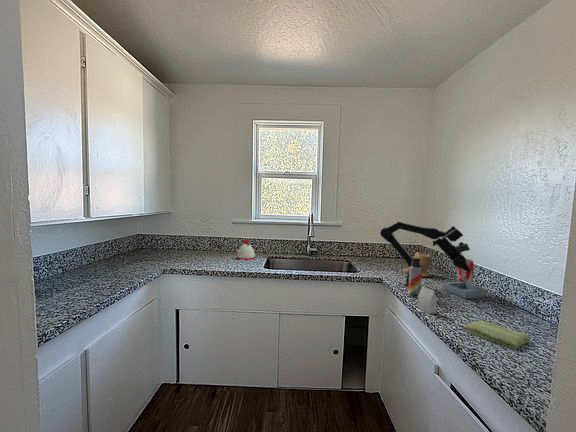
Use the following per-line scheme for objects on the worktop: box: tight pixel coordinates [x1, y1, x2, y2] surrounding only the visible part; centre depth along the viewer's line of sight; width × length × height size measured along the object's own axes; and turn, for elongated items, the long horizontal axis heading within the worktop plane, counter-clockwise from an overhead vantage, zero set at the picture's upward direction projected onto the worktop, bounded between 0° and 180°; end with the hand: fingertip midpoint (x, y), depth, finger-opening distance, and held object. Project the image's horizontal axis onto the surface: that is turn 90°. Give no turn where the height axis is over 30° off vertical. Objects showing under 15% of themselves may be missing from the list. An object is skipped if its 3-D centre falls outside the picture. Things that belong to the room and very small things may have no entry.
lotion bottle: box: [407, 257, 422, 299], centre depth 150 cm, size 6×6×20 cm
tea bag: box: [417, 286, 438, 315], centre depth 132 cm, size 4×7×10 cm, turn 24°
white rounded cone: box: [236, 238, 256, 261], centre depth 230 cm, size 14×14×15 cm
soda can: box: [457, 258, 475, 284], centre depth 156 cm, size 7×7×12 cm
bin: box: [443, 281, 488, 300], centre depth 157 cm, size 14×14×4 cm
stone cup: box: [403, 251, 432, 278], centre depth 193 cm, size 15×12×15 cm
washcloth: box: [463, 320, 531, 350], centre depth 109 cm, size 13×18×3 cm
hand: (468, 270), depth 155 cm, fingers closed on soda can, 7 cm apart
